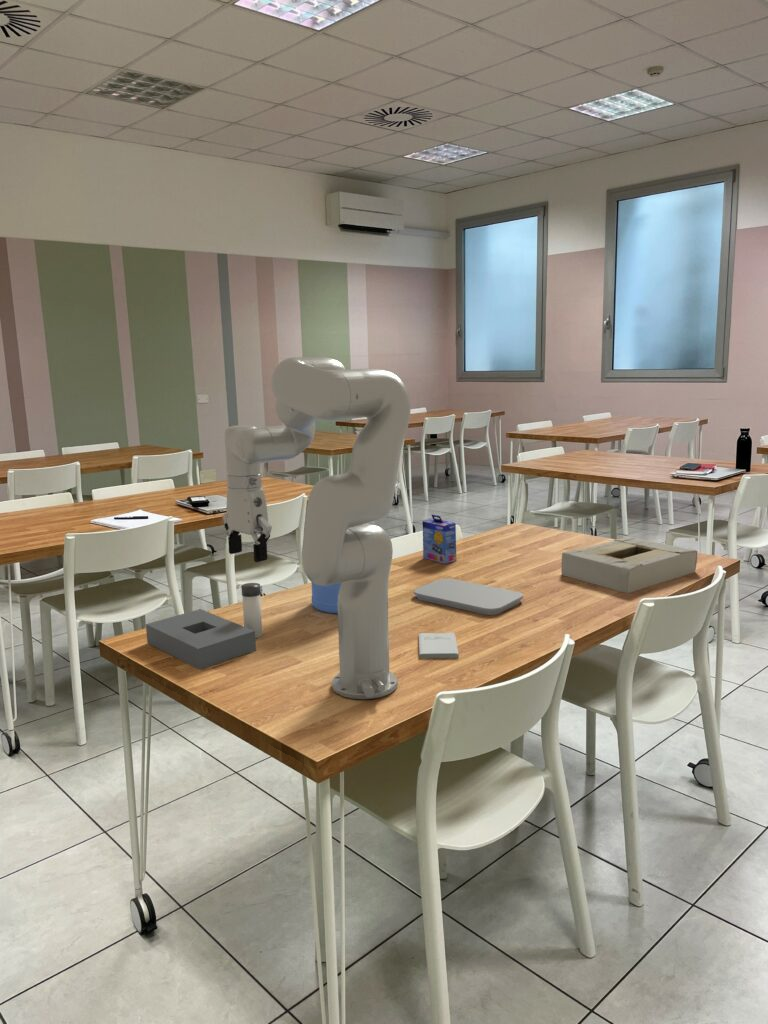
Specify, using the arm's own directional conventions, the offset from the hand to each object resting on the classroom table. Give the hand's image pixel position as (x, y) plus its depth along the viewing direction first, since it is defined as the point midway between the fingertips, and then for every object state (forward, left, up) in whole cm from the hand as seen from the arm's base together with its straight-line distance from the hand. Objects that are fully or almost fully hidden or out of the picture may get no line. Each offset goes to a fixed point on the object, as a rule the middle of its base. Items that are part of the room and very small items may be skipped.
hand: (247, 556), depth 170 cm
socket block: (-4, +12, -19) cm, 22 cm away
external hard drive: (-20, -38, -19) cm, 47 cm away
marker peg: (0, 0, -19) cm, 19 cm away
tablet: (+9, -56, -19) cm, 60 cm away
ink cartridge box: (+49, -62, -19) cm, 82 cm away
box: (+17, -108, -19) cm, 111 cm away
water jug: (+15, -24, -19) cm, 34 cm away
